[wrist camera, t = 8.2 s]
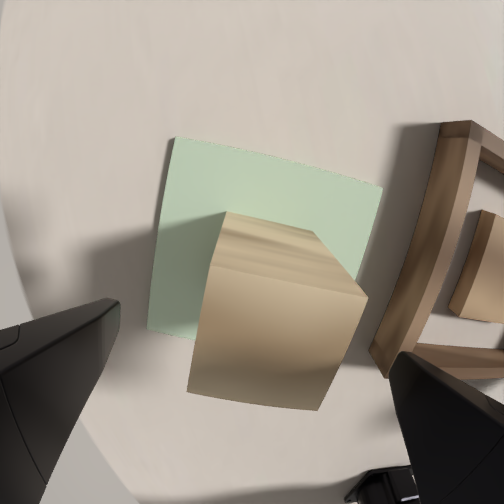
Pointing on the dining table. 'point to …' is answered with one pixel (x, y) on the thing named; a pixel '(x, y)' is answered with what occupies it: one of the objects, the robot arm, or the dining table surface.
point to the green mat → (250, 204)
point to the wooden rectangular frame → (439, 257)
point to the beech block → (273, 316)
